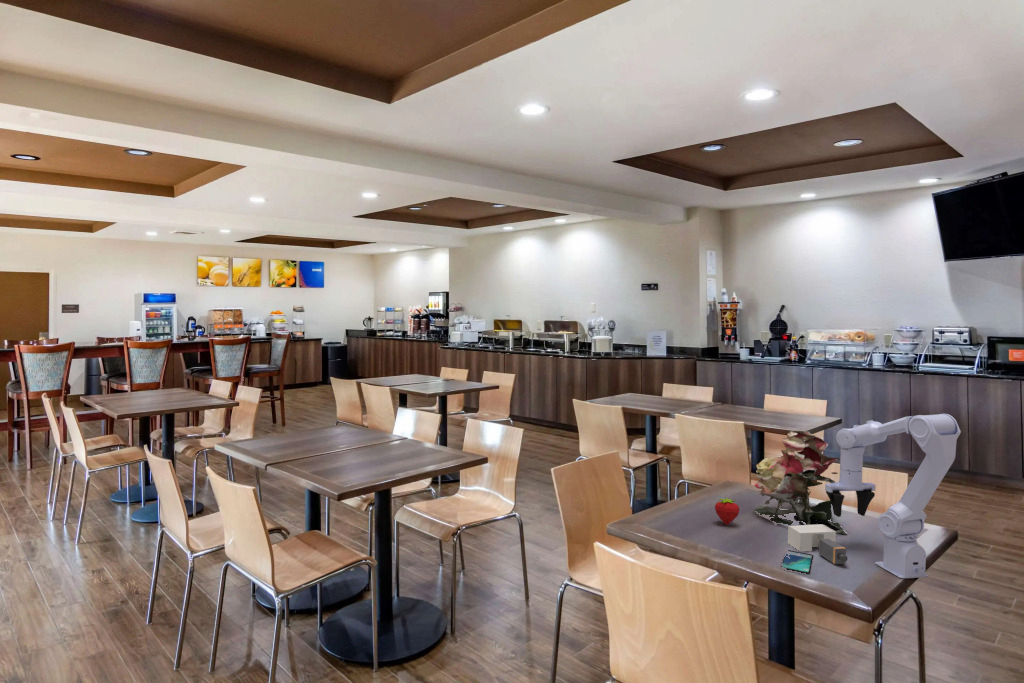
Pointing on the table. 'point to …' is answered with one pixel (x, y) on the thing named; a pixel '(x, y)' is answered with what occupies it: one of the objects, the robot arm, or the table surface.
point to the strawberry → (727, 510)
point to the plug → (832, 551)
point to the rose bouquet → (796, 479)
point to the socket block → (809, 536)
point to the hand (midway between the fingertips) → (849, 515)
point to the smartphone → (798, 562)
